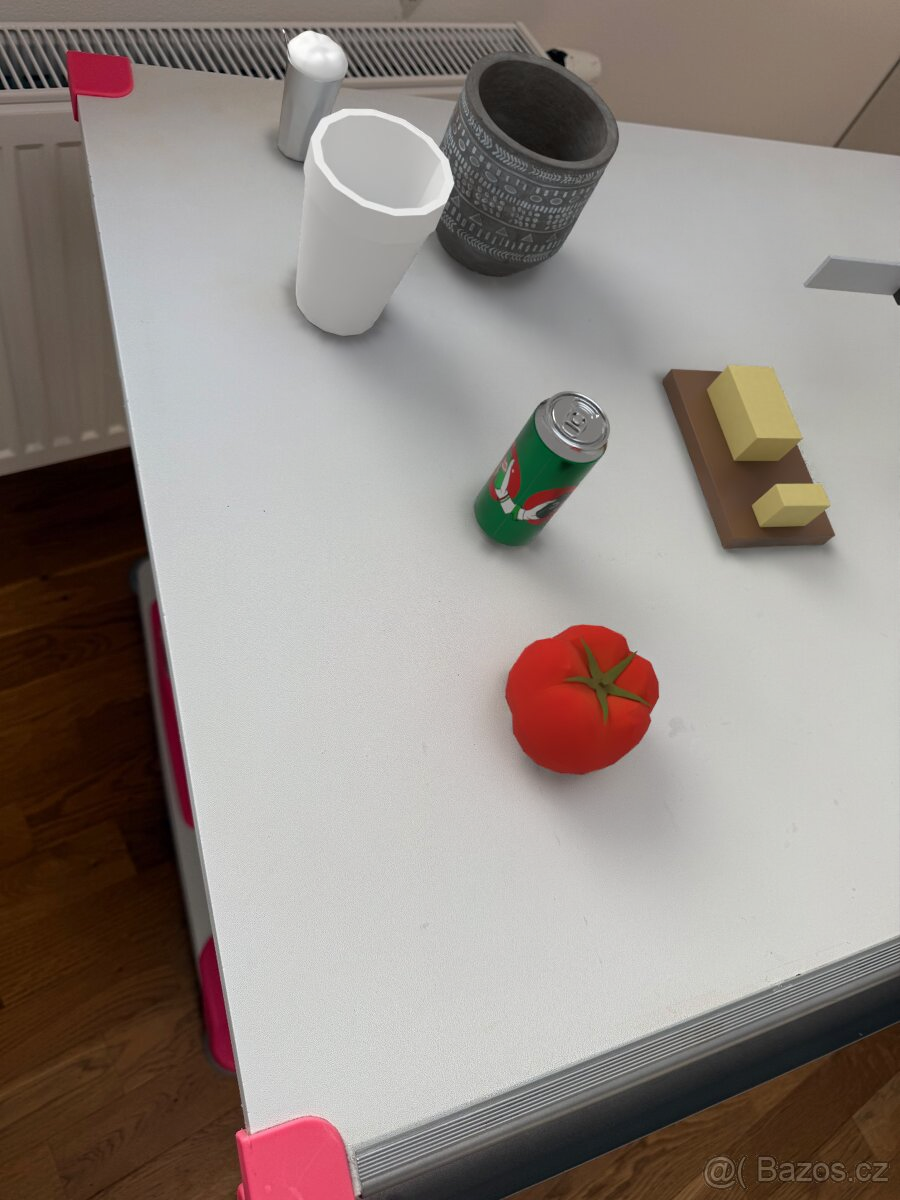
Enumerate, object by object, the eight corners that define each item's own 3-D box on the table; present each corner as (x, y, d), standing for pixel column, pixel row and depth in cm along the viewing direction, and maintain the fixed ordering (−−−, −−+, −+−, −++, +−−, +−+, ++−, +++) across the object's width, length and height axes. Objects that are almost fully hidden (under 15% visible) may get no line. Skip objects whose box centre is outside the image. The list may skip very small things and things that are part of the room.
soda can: (548, 517, 70) (628, 419, 60) (517, 563, 67) (595, 469, 57) (491, 476, 70) (562, 371, 60) (458, 521, 67) (526, 419, 57)
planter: (384, 201, 79) (433, 60, 68) (493, 173, 85) (554, 39, 75) (470, 312, 77) (534, 184, 66) (575, 274, 83) (650, 152, 72)
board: (757, 384, 85) (767, 373, 83) (823, 544, 79) (835, 535, 77) (661, 380, 81) (671, 368, 80) (723, 548, 75) (734, 538, 73)
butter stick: (749, 391, 82) (773, 366, 79) (778, 461, 79) (803, 438, 76) (706, 389, 80) (728, 364, 77) (733, 461, 77) (757, 437, 74)
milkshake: (251, 126, 78) (273, 8, 70) (313, 127, 80) (342, 13, 72) (269, 168, 77) (293, 53, 68) (331, 168, 79) (362, 56, 71)
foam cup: (250, 270, 71) (283, 119, 60) (352, 242, 76) (399, 98, 65) (319, 367, 69) (366, 230, 58) (420, 333, 74) (480, 200, 63)
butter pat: (796, 504, 77) (822, 483, 75) (805, 526, 77) (831, 505, 74) (750, 505, 76) (775, 483, 73) (759, 527, 75) (785, 506, 72)
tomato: (507, 792, 60) (558, 756, 53) (479, 659, 63) (524, 609, 57) (637, 779, 63) (700, 743, 57) (604, 653, 67) (659, 606, 60)
